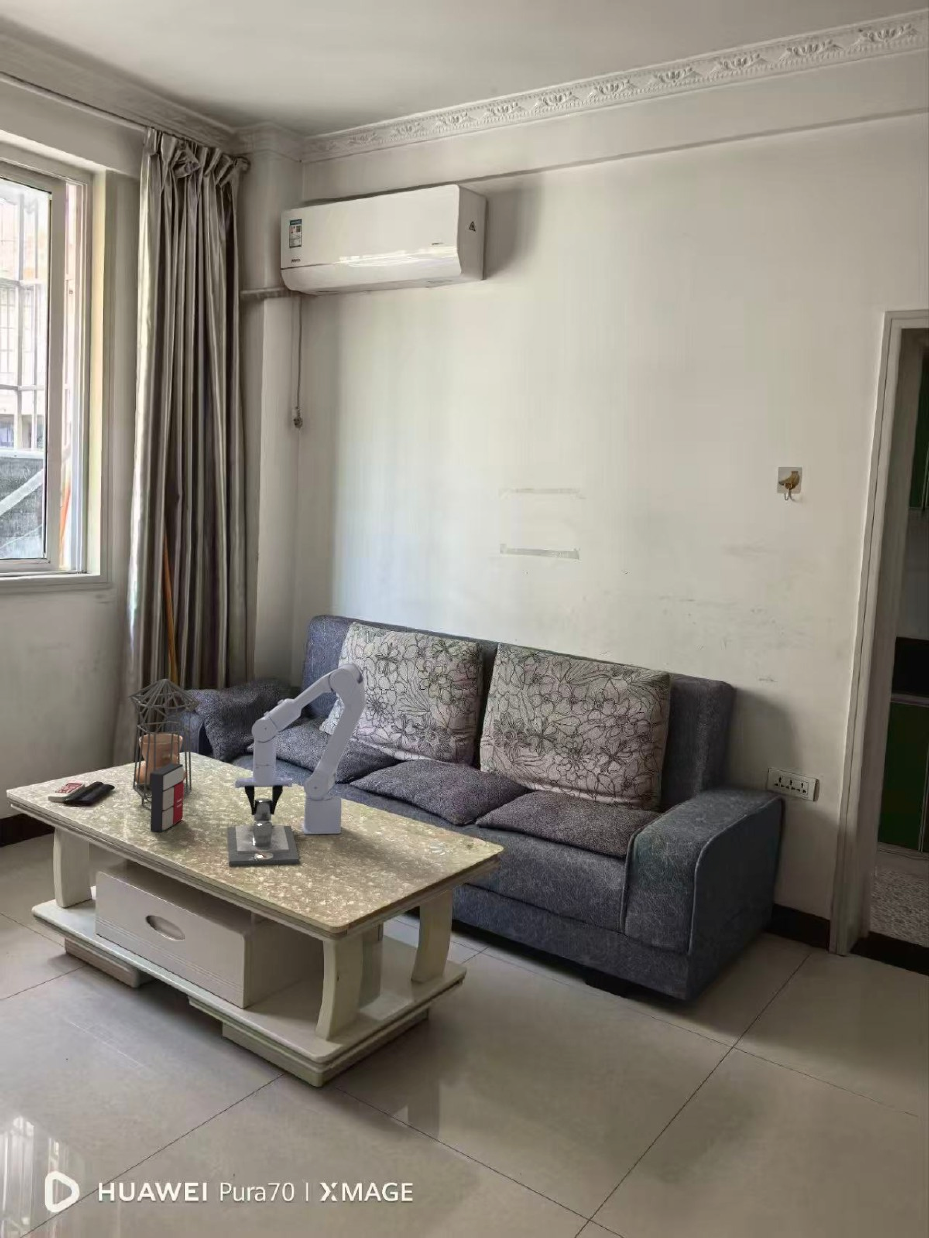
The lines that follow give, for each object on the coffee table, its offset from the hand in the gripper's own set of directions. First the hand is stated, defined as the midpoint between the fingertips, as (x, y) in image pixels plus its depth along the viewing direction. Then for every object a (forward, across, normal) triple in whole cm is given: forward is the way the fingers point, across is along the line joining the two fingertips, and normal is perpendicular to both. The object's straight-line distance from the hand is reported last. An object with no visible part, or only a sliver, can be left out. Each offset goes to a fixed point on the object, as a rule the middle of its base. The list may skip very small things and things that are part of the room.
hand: (262, 813), depth 260 cm
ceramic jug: (+3, +27, -36) cm, 45 cm away
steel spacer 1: (+2, 0, 0) cm, 2 cm away
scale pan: (+2, +1, +15) cm, 15 cm away
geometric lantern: (+3, +26, -17) cm, 31 cm away
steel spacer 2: (+1, +1, +20) cm, 20 cm away
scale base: (+3, +1, +17) cm, 17 cm away
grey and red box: (+3, +24, -1) cm, 24 cm away
